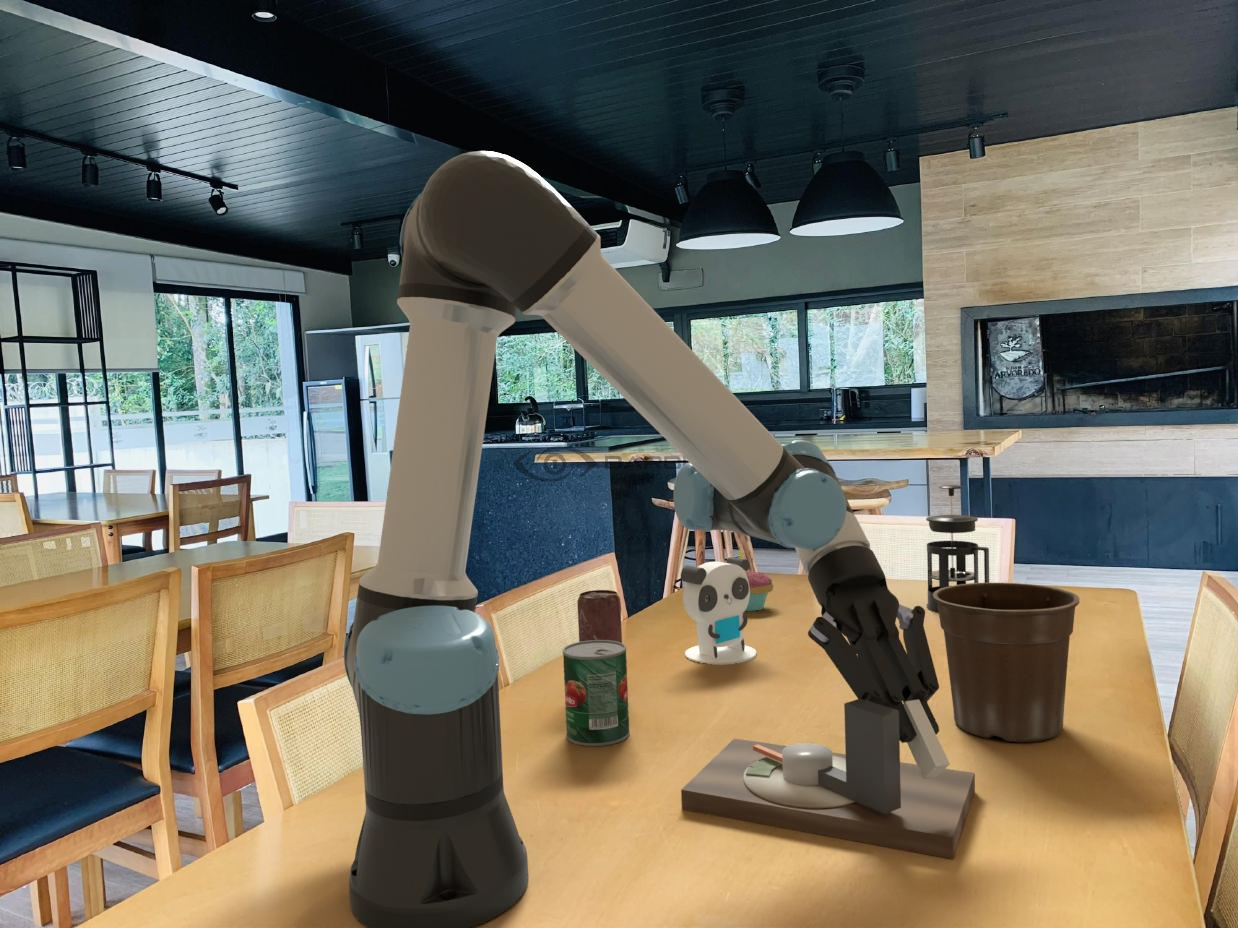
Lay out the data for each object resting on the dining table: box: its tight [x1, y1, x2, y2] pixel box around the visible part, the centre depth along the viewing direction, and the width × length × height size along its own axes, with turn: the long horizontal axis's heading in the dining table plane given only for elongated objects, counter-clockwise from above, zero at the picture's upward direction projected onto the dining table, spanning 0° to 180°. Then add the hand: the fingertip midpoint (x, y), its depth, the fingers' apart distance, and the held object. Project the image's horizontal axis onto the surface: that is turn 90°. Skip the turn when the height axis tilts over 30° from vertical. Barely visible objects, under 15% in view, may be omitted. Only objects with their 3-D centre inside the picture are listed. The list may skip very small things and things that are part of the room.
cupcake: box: [738, 546, 774, 612], centre depth 179 cm, size 9×8×12 cm
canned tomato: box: [562, 640, 631, 747], centre depth 115 cm, size 8×8×11 cm
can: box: [576, 589, 623, 643], centre depth 132 cm, size 6×6×14 cm
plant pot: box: [933, 582, 1080, 743], centre depth 112 cm, size 16×16×16 cm
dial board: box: [680, 738, 976, 860], centre depth 94 cm, size 15×26×2 cm, turn 62°
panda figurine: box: [680, 556, 757, 666], centre depth 148 cm, size 12×11×15 cm
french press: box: [925, 484, 990, 613], centre depth 171 cm, size 12×9×23 cm
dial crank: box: [753, 698, 901, 814], centre depth 93 cm, size 19×5×9 cm, turn 34°
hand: (936, 771), depth 85 cm, fingers closed
